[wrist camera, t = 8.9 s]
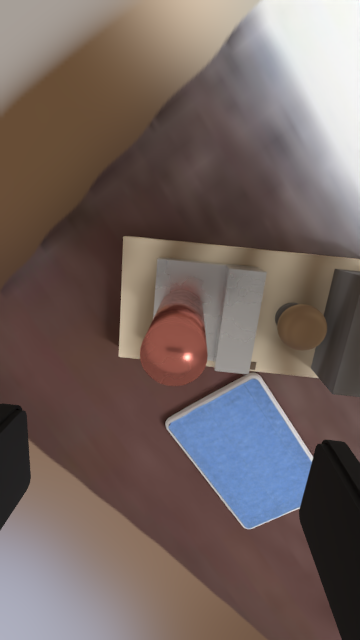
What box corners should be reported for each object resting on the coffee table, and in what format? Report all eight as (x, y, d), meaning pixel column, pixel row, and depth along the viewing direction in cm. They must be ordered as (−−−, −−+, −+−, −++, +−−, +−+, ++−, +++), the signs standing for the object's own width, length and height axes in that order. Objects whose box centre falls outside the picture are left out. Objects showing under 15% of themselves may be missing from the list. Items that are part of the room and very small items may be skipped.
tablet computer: (332, 486, 37) (337, 495, 36) (244, 525, 40) (246, 534, 39) (255, 366, 33) (257, 371, 32) (162, 418, 36) (161, 425, 34)
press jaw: (257, 266, 27) (300, 292, 16) (242, 357, 30) (270, 432, 19) (159, 257, 28) (135, 275, 16) (152, 347, 30) (128, 416, 19)
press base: (364, 259, 29) (415, 268, 22) (334, 371, 32) (370, 408, 26) (127, 235, 29) (108, 237, 23) (123, 349, 33) (104, 379, 26)
